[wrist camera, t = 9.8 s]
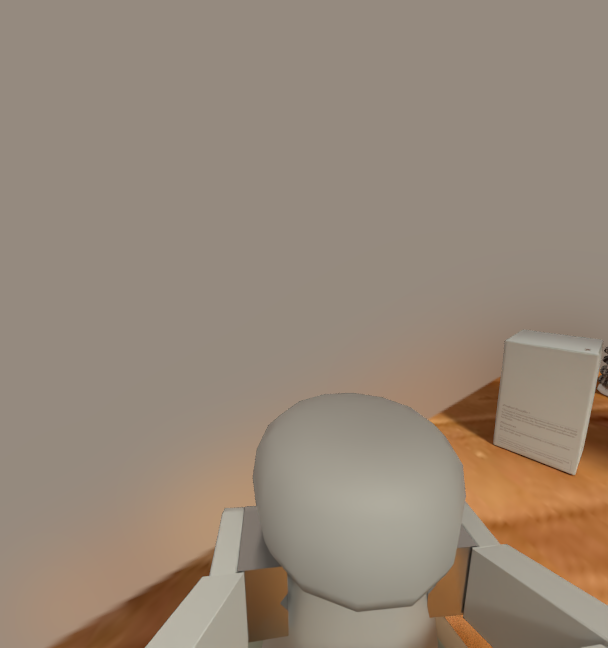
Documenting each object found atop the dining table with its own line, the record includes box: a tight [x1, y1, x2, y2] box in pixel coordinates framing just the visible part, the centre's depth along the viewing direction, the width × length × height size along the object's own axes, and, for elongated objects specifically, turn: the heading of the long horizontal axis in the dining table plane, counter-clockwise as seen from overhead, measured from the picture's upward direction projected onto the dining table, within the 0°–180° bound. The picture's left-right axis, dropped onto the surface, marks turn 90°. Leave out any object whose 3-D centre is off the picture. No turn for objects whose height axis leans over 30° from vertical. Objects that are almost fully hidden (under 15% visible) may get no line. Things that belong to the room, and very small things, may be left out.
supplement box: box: [493, 330, 603, 475], centre depth 32 cm, size 7×7×13 cm
